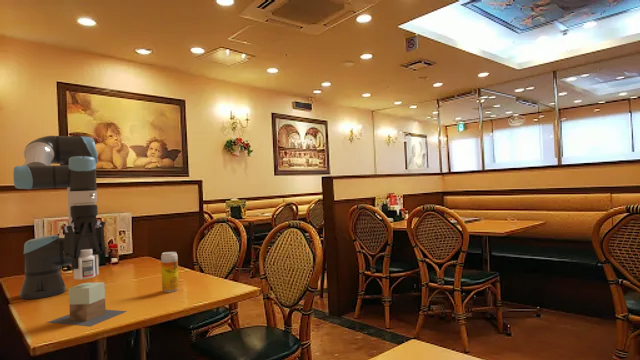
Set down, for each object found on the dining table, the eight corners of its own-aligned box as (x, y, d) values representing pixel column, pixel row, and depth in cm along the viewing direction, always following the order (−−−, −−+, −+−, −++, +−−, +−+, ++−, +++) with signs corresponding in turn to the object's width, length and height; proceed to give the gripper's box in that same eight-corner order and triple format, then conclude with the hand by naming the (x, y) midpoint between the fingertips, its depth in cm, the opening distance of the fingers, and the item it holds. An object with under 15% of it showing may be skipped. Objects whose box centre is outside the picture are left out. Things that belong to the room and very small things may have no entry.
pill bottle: (82, 276, 127) (81, 249, 127) (98, 275, 128) (97, 248, 128) (73, 279, 122) (72, 251, 122) (90, 278, 122) (89, 250, 123)
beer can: (173, 292, 151) (171, 254, 151) (159, 292, 152) (157, 254, 152) (181, 288, 157) (180, 251, 157) (168, 288, 158) (166, 251, 158)
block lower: (69, 319, 122) (69, 303, 122) (89, 312, 129) (88, 297, 129) (86, 321, 120) (86, 304, 120) (105, 313, 127) (105, 298, 127)
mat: (46, 323, 121) (46, 322, 121) (86, 309, 134) (86, 308, 134) (90, 327, 115) (90, 326, 115) (127, 312, 128) (127, 311, 128)
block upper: (69, 304, 122) (68, 288, 122) (85, 297, 129) (85, 282, 129) (89, 304, 121) (88, 288, 121) (105, 297, 128) (104, 282, 128)
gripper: (66, 205, 115) (69, 284, 115) (116, 202, 133) (118, 270, 132) (47, 206, 118) (50, 283, 117) (99, 203, 135) (101, 270, 135)
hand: (86, 276), depth 125 cm, fingers closed on pill bottle, 5 cm apart
